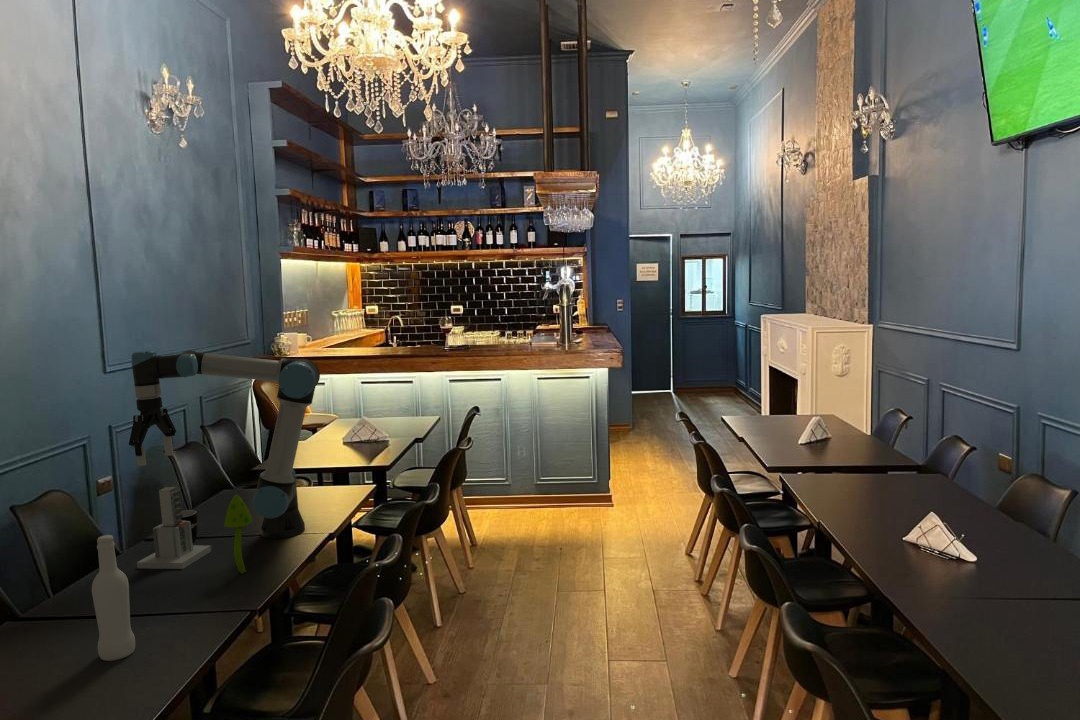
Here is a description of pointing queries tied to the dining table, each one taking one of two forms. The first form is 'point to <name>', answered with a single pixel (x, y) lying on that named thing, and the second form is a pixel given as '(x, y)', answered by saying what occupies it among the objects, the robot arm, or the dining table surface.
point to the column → (171, 510)
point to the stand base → (173, 549)
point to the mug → (191, 521)
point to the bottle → (112, 605)
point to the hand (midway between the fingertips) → (156, 460)
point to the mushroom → (238, 526)
